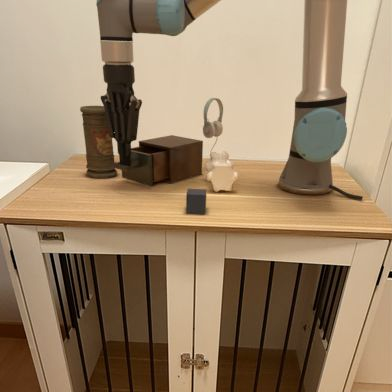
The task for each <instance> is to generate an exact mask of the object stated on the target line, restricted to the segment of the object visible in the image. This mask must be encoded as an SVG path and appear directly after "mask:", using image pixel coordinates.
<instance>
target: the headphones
mask: <svg viewBox="0 0 392 392" xmlns="http://www.w3.org/2000/svg"><path fill="white" fill-rule="evenodd" d="M213 101H216V103H217V105H218V109H219V116H218V117H217V119H216V120H214V121H209V119H208V111H209V108H210V106H211V104H212V102H213ZM223 115H224V105H223V102H222V100H220V98H217V97H210V98H209V99H208V100H207V101H206V102H205V104H204V107H203V125H202V134H203V136H204V137H205V138H206V139H211V138H213V137H215V138H218V137H220V136H221V135H222V134H223V129H224V127H223V124H222V122H223ZM217 142H218V139H216V140H215V142H214V143H213V146H212V147H211V150H210V152H213V149H214V147H215V145H216V144H217Z"/></svg>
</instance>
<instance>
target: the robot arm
mask: <svg viewBox="0 0 392 392" xmlns="http://www.w3.org/2000/svg"><path fill="white" fill-rule="evenodd" d="M221 1H222V0H96V2H95V3H96V4H95V5H96V9H97V18H98V19H97V21H98V29H99V36H100V37H99V39H100V41H99V42H100V55H101V61H102V62H104V64H103V65H102V74H103V75H102V76H103V82H104V83H105V84H106V85H107V86H106V93H105V94H104V95H100V101H101V103H102V106H104V109H105V113H106V118H107V122H108V126H109V131H110V135H111V138H112V139H114V140H115V142H116V145H117V154H118V158H119V160H118V161H119V162H120V164H123V165H126V166H131V158H130V156H131V148H132V142H134V141H137V138H138V128H139V121H140V120H139V119H140V111H141V108H142V105H143V101H142V99H139V98H137V97H136V95H135V91H134V87H133V85H134V84H135V83H136V76H135V67H134V65H132V63H134V61H135V59H134V43H133V42H134V39H133V34H149V35H162V36H163V35H165V36H168V37H176V36H179V35H181V34H182V33H183V32H184V31H186V29H187V27H188V26H189V25H191V24H192V23H194V21H195V20H197V19H198V18H199V17H201V16H202V15H203V14H205V13H206V12H207V11H209V10H210V9H211V8H213V7H214V6H215V5H217V4H218V3H220V2H221ZM303 4H304V5H303V33H302V34H303V37H302V38H303V39H302V40H303V41H302V68H301V69H302V71H301V73H302V74H301V90H300V92H299V93H298V95H297V96H296V97H295V99H294V118H293V119H294V121H293V127H292V133H291V139H290V146H289V153H288V157H287V160H286V163H285V165H284V167H283V170H282V171H281V174H280V176H279V178H278V184H277V185H278V187H279V189H281V190H283V191H286V192H288V193H293V194H298V195H306V196H317V195H318V196H319V195H325V194H328V193H330V192H332V190H333V191H335V192H336V193H339V194H341V195H342V196H345V197H347V198H350V199H355V200H359V201H360V200H361V201H362V200H363V198H364V197H363V195H358V194H357V195H356V194H352V193H348V192H346V191H344V190H343V189H340V188H339V187H337V186H335V185H334V184H333V183H334V182H333V171H332V158H333V157H335V156H336V155H337V154H338V153H339V152H340V151H341V149H342V148H343V146H344V145H345V141H346V138H347V134H348V128H347V127H348V126H347V123H346V122H347V121H346V113H347V101H348V93H347V92H346V90H345V89H344V88H343V86H342V78H343V77H342V76H343V64H344V48H345V35H346V23H347V10H348V0H304V3H303Z"/></svg>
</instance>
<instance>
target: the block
mask: <svg viewBox="0 0 392 392" xmlns="http://www.w3.org/2000/svg"><path fill="white" fill-rule="evenodd" d="M185 199H186V200H185V201H186V203H185V213H186V214H187V215H189V214H190V215H206V210H207V189H206V188H205V189H204V188H187V190H186V197H185Z"/></svg>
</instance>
